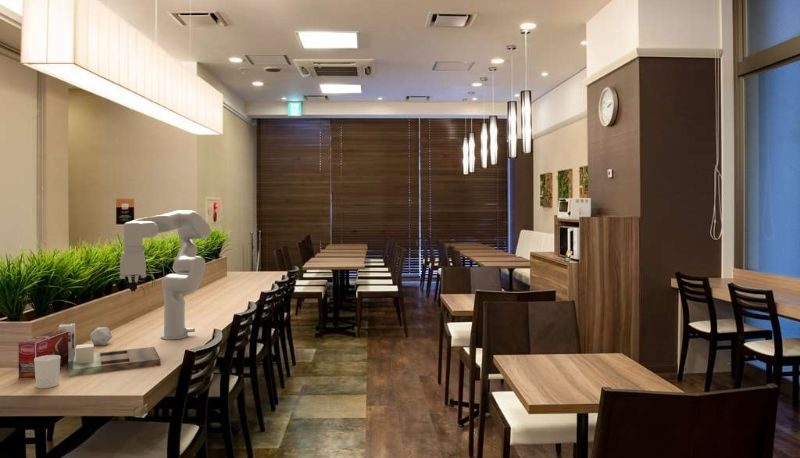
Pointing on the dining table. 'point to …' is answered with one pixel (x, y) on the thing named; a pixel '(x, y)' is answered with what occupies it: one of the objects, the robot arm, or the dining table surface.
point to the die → (100, 336)
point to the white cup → (47, 371)
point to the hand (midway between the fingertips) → (133, 291)
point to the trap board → (114, 361)
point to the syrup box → (69, 334)
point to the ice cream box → (42, 351)
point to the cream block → (84, 353)
